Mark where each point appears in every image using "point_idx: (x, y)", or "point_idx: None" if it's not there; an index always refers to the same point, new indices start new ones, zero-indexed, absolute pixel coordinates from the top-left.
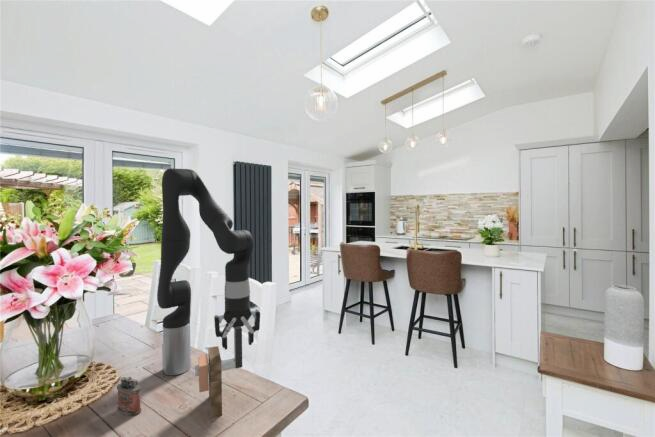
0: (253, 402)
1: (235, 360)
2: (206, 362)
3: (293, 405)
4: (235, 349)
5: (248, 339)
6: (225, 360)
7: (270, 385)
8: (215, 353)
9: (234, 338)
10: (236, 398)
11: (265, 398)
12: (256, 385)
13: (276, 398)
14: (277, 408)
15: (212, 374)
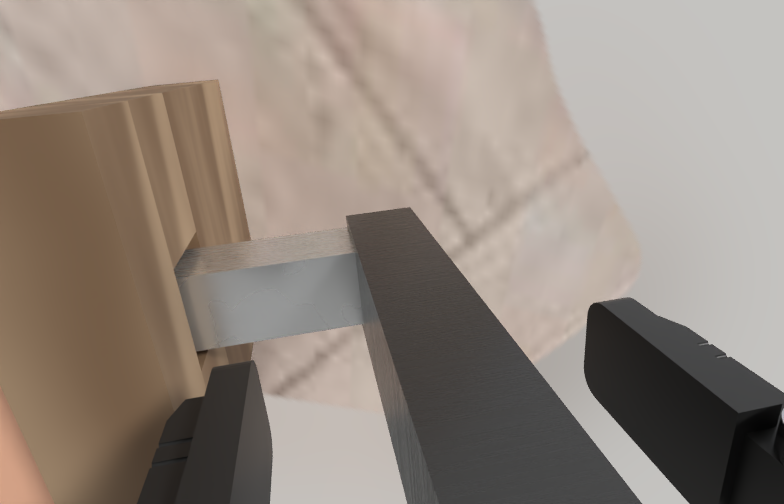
0: (426, 227)
1: (365, 332)
2: (25, 454)
3: (599, 299)
4: (388, 428)
5: (625, 338)
6: (252, 279)
7: (549, 82)
8: (97, 374)
9: (406, 439)
10: (335, 160)
11: (492, 209)
12: (468, 49)
13: (545, 225)
14: (528, 303)
15: None
